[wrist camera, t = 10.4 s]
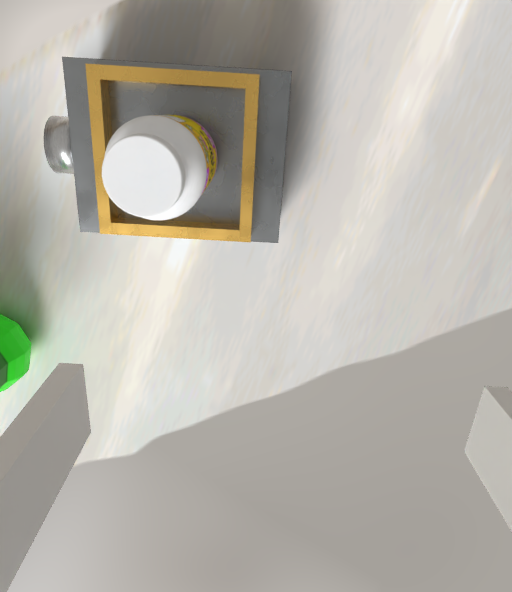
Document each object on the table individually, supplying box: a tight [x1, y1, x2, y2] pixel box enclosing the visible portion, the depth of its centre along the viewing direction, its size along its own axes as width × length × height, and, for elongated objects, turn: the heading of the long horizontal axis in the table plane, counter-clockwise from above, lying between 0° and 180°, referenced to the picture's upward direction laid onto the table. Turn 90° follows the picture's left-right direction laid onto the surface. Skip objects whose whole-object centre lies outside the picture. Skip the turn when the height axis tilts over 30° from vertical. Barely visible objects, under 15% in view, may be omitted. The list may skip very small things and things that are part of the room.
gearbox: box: [44, 57, 292, 243], centre depth 40 cm, size 21×14×10 cm, turn 87°
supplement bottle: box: [102, 115, 217, 220], centre depth 31 cm, size 7×7×13 cm
